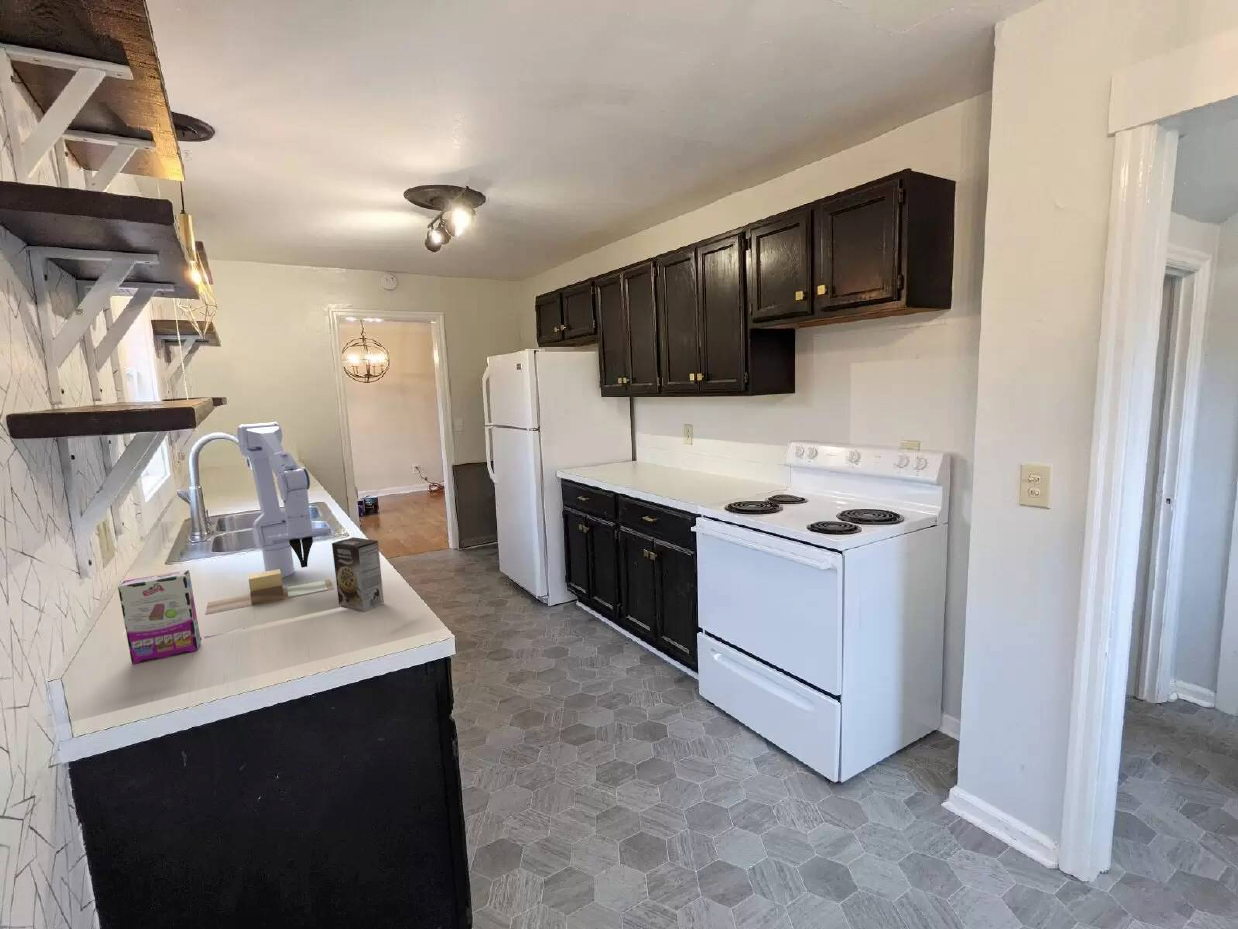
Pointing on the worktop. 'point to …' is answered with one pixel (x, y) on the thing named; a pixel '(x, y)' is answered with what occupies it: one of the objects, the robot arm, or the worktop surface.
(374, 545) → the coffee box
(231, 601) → the pocket board
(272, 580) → the ochre block
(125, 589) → the candy bar box
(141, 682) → the worktop surface
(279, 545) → the robot arm
